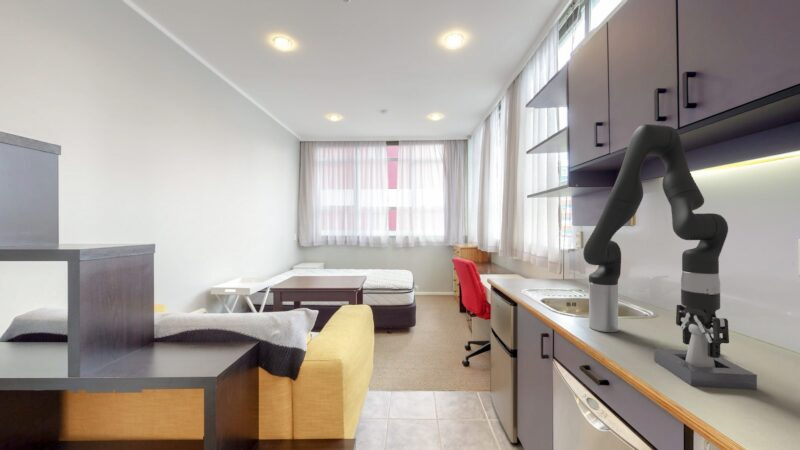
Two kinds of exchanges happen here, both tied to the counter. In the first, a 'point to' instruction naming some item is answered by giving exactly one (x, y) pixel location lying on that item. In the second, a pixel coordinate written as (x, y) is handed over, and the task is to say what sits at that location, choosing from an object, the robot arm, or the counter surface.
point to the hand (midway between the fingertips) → (700, 350)
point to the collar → (706, 371)
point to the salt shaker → (698, 349)
